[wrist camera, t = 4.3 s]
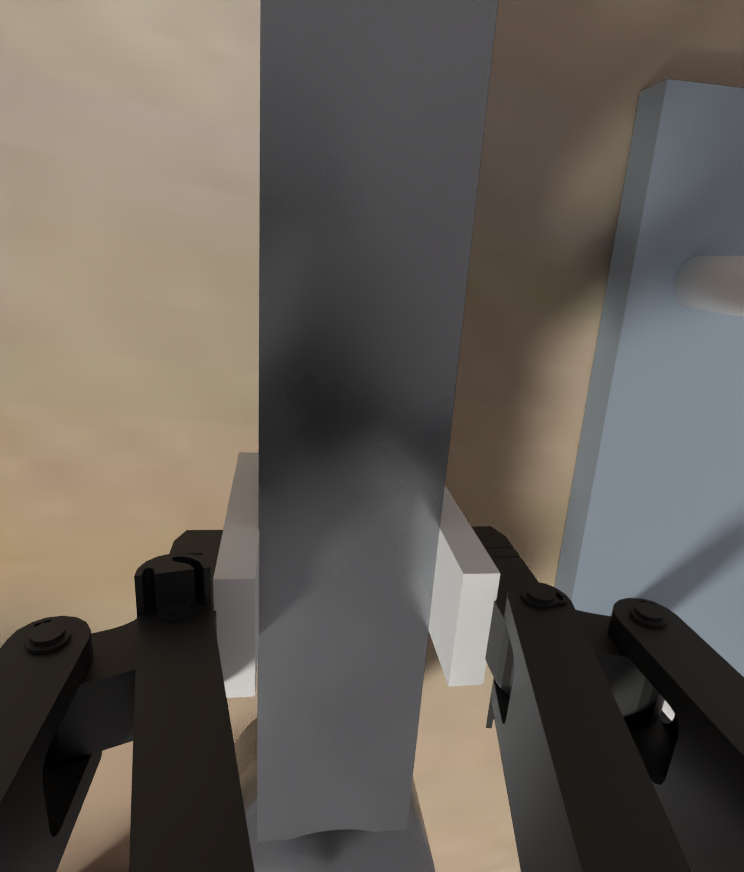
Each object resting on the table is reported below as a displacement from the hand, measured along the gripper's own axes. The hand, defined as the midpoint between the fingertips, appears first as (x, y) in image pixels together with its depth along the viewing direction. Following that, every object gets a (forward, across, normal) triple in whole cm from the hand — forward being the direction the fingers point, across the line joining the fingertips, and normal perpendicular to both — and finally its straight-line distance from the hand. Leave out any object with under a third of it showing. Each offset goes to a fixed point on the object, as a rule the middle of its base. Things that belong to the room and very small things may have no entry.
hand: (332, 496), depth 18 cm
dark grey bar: (0, 0, -1) cm, 1 cm away
